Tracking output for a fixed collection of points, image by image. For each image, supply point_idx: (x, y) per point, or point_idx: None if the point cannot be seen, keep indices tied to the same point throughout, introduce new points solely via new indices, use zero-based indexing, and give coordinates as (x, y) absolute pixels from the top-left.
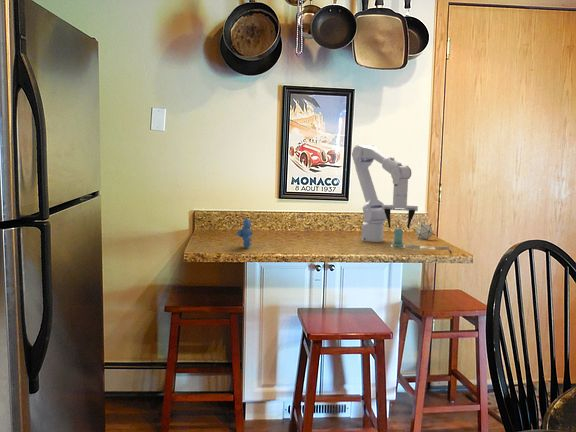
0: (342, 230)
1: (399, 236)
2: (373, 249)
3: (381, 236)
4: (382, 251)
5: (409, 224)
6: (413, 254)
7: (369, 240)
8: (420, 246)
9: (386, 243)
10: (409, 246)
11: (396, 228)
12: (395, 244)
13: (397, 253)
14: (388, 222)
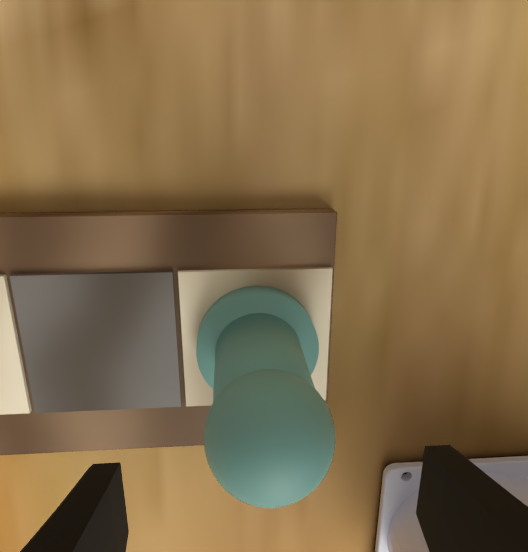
0: None
1: (250, 360)
2: (504, 198)
3: (426, 549)
4: (422, 110)
5: (58, 511)
6: (71, 19)
7: (519, 488)
8: (18, 382)
9: (351, 516)
10: (134, 348)
11: (311, 476)
12: (286, 300)
13: (260, 31)
14: (515, 501)
